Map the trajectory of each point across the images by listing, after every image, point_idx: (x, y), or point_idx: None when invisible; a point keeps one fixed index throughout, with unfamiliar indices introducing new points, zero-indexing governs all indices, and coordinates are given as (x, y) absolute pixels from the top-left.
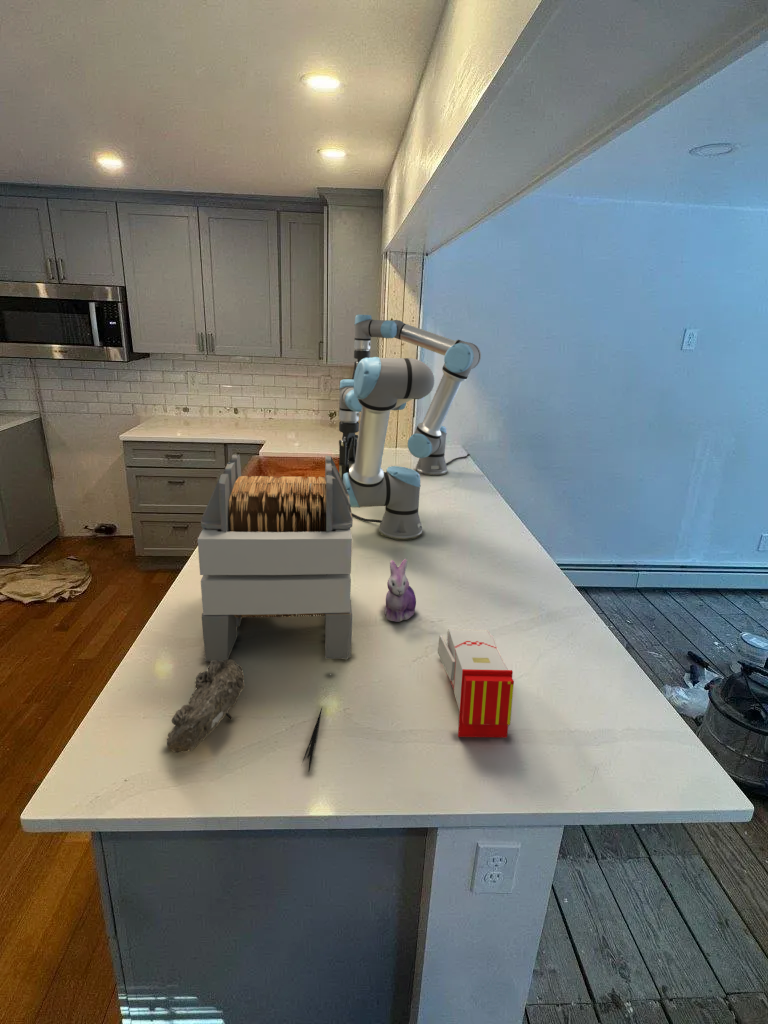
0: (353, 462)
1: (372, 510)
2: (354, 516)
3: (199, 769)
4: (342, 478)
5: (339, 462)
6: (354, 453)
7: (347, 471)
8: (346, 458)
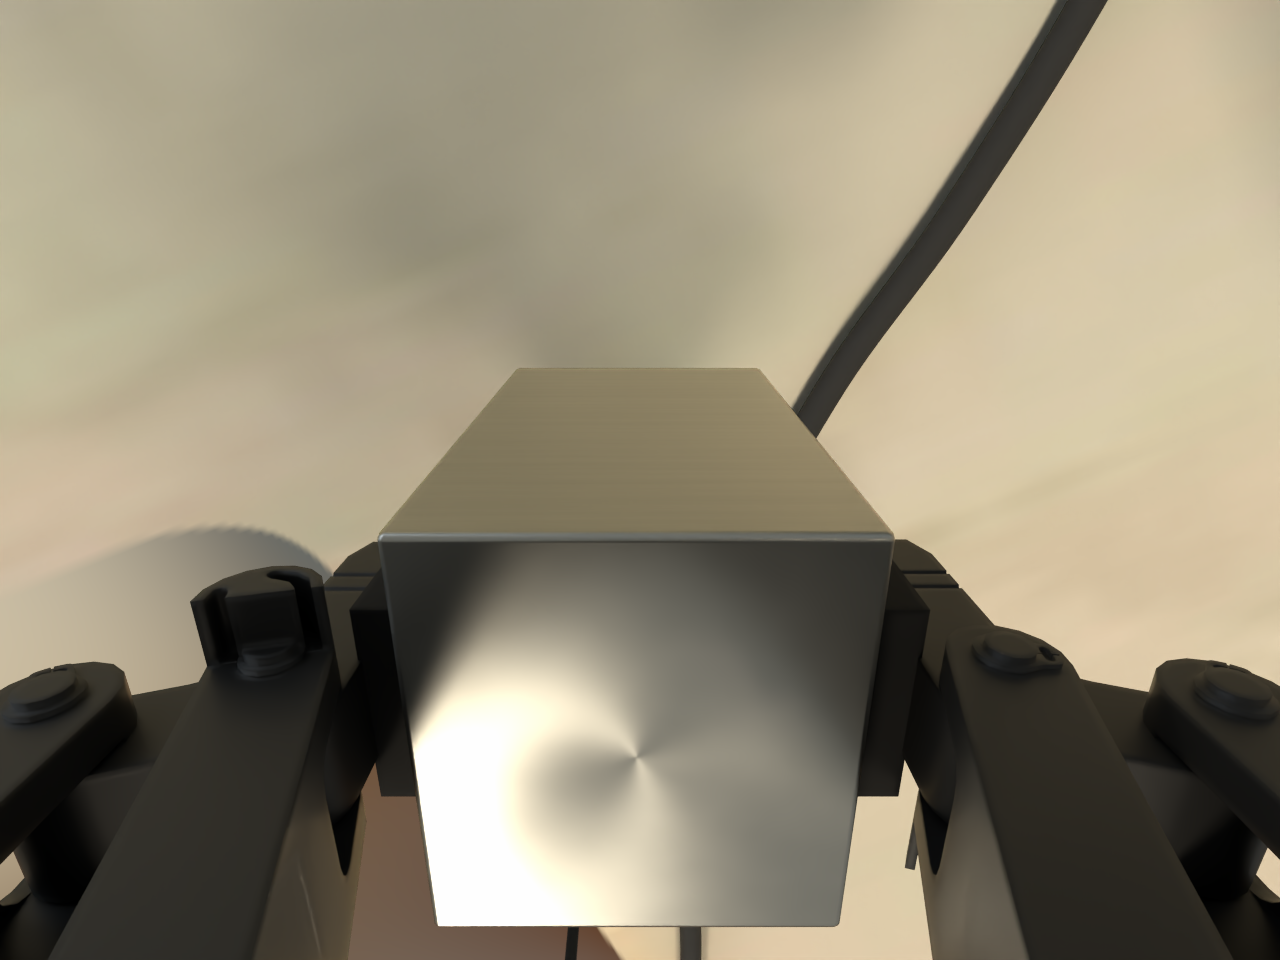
0: (547, 608)
1: (657, 26)
2: (1020, 139)
3: None
4: None
5: (1275, 933)
6: (106, 954)
7: None
8: (1171, 922)
